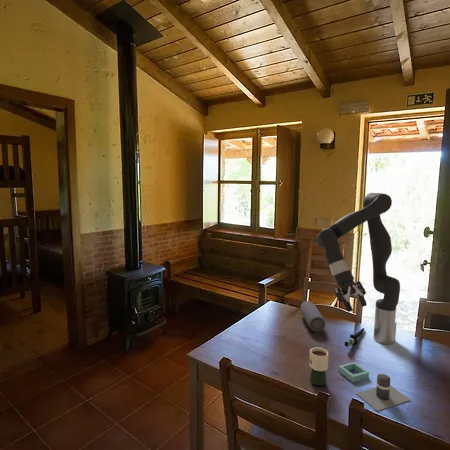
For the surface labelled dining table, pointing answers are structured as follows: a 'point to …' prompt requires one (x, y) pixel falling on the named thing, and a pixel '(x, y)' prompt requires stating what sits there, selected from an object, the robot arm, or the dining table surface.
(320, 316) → the bluetooth speaker
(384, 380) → the dark grey cylinder
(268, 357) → the dining table surface
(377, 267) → the robot arm
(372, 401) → the grey mat
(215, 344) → the dining table surface
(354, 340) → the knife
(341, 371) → the green square frame
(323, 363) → the character mug
